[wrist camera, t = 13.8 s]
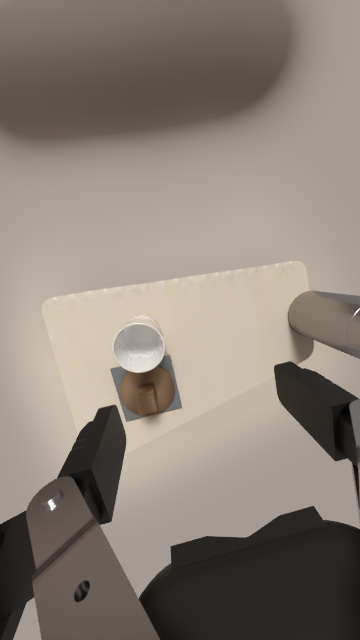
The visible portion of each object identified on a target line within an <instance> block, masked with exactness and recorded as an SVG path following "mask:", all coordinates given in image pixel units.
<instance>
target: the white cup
mask: <svg viewBox="0 0 360 640" xmlns="http://www.w3.org/2000/svg"><path fill="white" fill-rule="evenodd" d="M112 353H113V356H114V358H115V360H116V362H117V363H118V364H119V365H120V366H121V367H122V368H124V369H125V370H128V371H130V372H135V373H142V372H147V371H150V370H152V369H153V368H155V367H156V366H157V365H158V364H159V363H160V362H161V360H162V359H163V356H164V353H165V343H164V339H163V335H162V331H161V328H160V326H159V324H158V323H157V321H156V320H155V319H154V318H152V317H150V316H149V315H138V316H135V317H133V318H132V319H131V320H129V321H128V322H127V323H126V324H125V325H124V326H123V327H122V328H121V329H120V330H119V331H118V332H117V334H116V335H115V337H114V339H113V343H112Z"/></svg>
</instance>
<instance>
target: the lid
mask: <svg viewBox="0 0 360 640" xmlns="http://www.w3.org/2000/svg"><path fill="white" fill-rule="evenodd" d="M174 394H175V386H174V381H173V379H172V377H171V375H170V374H169V373H168V372H167V371H166V370H165V369H164V368H162V367H160V366H156V367H155V368H153V369H152V370H150V371H147V372H142V373H135V372H130V371H129V372H128V373H127V374H126V375H125V376H124V378H123V380H122V382H121V386H120V397H121V400H122V402H123V404H124V405H125V406H126V407H127V408H128V409H129V410H130V411H132V412H134V413H136V414H139V415H154V414H157V413H159V412H161V411H163V410H164V409H166V408H167V407H168V406H169V405H170V403H171V402H172V400H173V398H174Z"/></svg>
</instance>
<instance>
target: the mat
mask: <svg viewBox="0 0 360 640" xmlns="http://www.w3.org/2000/svg"><path fill="white" fill-rule="evenodd" d="M157 366H160V367H162V368H164V369H165V370H166V371H167V372H168V373H169V374H170V375H171V377H172V379H173V381H174V386H175V394H174V398H173V400H172V402H171V403H170V405H169V406H168V407H167V408H166V409H164V410H163V411H161V412H159V413H162V412H166V411H170V410H174V409H178V408H182V406H181V401H180V397H179V393H178V388H177V384H176V380H175V376H174V371H173V367H172V363H171V358H170V355H168V356H163V359H162V360H161V362H160V363H159V364H158V365H157ZM128 372H129V371H128V370H125V369H124V368H122V367H116V368H112V369H111V373H112V376H113V380H114V383H115V386H116V389H117V393H118V396H119V399H120V403H121V406H122V409H123V412H124V416H125V419H126V421H129V420H133V419H137V418H141V417H145V416H149V415H139V414H136V413H134V412H132V411H130V410H129V409H128V408H127V407H126V406H125V405H124V404H123V402H122V400H121V397H120V386H121V382H122V380H123V378H124V376H125V375H126V374H127V373H128Z"/></svg>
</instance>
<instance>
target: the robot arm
mask: <svg viewBox="0 0 360 640" xmlns="http://www.w3.org/2000/svg"><path fill="white" fill-rule="evenodd" d="M288 318H289V323H290V325H291V327H292V328H293V329H294V330H295V331H296V332H297V333H300V334H302V335H304V336H307V337H309V338H311V339H313V340H316V341H318V342H321V343H323V344H325V345H328V346H330V347H333V348H335V349H337V350H340V351H342V352H344V353H347V354H349V355H351V356H354V357H356V358H359V359H360V296H354V295H345V294H335V293H328V292H319V291H308V292H305V293H303V294H301V295H299V296H298V297H297V298H296V299H295V300H294V301H293V303H292V304H291V307H290V309H289V314H288ZM274 373H275V380H276V388H277V395H278V397H279V400H280V402H281V404H282V405H283V406H284V407H285V408H286V409H287V411H288V412H289V413H290V414H291V415H292V416H293V417H294V418H295V419H296V420H297V421H298V422H299V423H300V424H301V425H302V426H303V428H304V429H305V430H306V431H307V432H308V433H309V434H310V435H311V436H312V437H313V438H314V439H315V440H316V441H317V442H318V443H319V445H320V446H321V447H322V448H323V449H324V450H325V451H326V452H327V453H328V454H329V455H330V456H331V457H332V458H333V459H334V460H335V461H339V460H343V459H346V458H348V459H349V460H350V461H351V462H352V472H353V479H354V486H355V493H356V500H357V506H358V513H359V520H360V399H359V398H357V397H355V396H354V395H352V394H351V393H349V392H347V391H346V390H344V389H342V388H341V387H339V386H338V385H336V384H333V383H332V382H331V381H330V380H328V379H325V377H323V376H322V375H320V374H319V373H317V372H314V371H311V370H308V369H305V368H304V369H302V368H300V367H299V366H297V365H296V364H294V363H293V362H291V361H289V362H285V363H281V364H277V365H275V366H274ZM125 448H126V434H125V430H124V427H123V424H122V421H121V418H120V414H119V411H118V408H117V406H116V405H111V406H107V407H103V408H99V409H98V411H97V413H96V416H95V418H94V420H93V421H91V422H88V424H87V425H86V426H85V427H84V428H83V429H82V430H81V431H80V433H79V435H78V437H77V439H76V442H75V443H74V445H73V447H72V450H71V451H70V453H69V455H68V457H67V459H66V461H65V463H64V465H63V467H62V469H61V471H60V473H59V475H58V477H57V479H55V480H53V481H51V482H50V483H48V484H47V485H45V486H44V487H43V488H42V489H41V490H40V491H39V492H38V493H37V494H36V495H35V496H34V497H33V499H32V500H31V502H30V503H29V505H28V507H27V510H26V511H24V512H22V513H21V514H19V515H17V516H15V517H13V518H11V519H9V520H7V521H6V522H4V523H2V524H0V640H13V638H14V635H15V632H16V630H17V627H18V624H19V622H20V619H21V616H22V613H23V611H24V608H25V605H26V602H28V601H29V600H31V599H32V598H34V597H35V602H36V609H37V614H38V621H39V626H40V633H41V639H42V640H360V529H358V528H356V527H353V526H350V525H347V524H344V523H340V522H335V521H329V520H323V519H322V518H321V517H320V515H319V513H318V512H317V510H316V509H315V507H314V506H312V507H308V508H305V509H301V510H298V511H294V512H291V513H287V514H283V515H280V516H278V517H277V518H275V519H274V520H272V521H271V522H269V523H268V524H267V525H265V526H264V527H262V528H261V529H259V530H258V531H257V532H255V533H254V534H252V535H251V536H249V537H246V538H237V537H213V536H206V537H202V538H199V539H195V540H192V541H188V542H185V543H181V544H177V545H174V546H171V564H169V565H168V566H166V567H165V568H164V569H163V570H162V571H160V572H159V573H158V574H157V575H156V576H155V578H154V579H153V580H152V581H151V582H150V583H149V584H148V586H147V587H146V588H145V590H144V591H143V592H142V594H141V596H140V597H139V599H138V597H137V595H136V593H135V591H134V589H133V587H132V585H131V583H130V582H129V580H128V578H127V576H126V574H125V572H124V571H123V568H122V566H121V565H120V563H119V561H118V559H117V557H116V555H115V553H114V551H113V549H112V548H111V546H110V544H109V542H108V540H107V538H106V536H105V534H104V533H103V530H102V529H101V527H100V525H101V524H105V523H109V522H111V521H112V516H113V511H114V506H115V500H116V495H117V490H118V484H119V479H120V474H121V469H122V463H123V459H124V453H125Z"/></svg>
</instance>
